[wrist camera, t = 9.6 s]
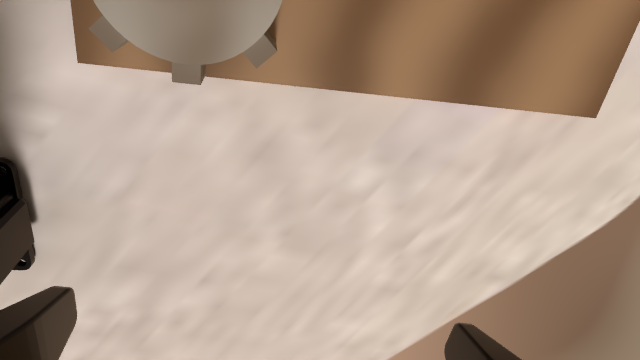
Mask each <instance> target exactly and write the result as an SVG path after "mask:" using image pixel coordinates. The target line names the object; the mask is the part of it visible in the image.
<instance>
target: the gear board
mask: <svg viewBox="0 0 640 360" xmlns="http://www.w3.org/2000/svg"><path fill="white" fill-rule="evenodd" d="M71 8H72V17H73V26H74V34H75V43H76V51H77V60H78V63H85V64H94V65H104V66H113V67H123V68H132V69H141V70H151V71H160V72H169V73H172V82H178V83H187V84H197V85H201V83H202V81H203V79H204V77H205V76H207V77H216V78H225V79H235V80H244V81H253V82H263V83H272V84H281V85H291V86H300V87H310V88H319V89H328V90H338V91H347V92H356V93H366V94H375V95H384V96H394V97H403V98H412V99H422V100H431V101H440V102H450V103H459V104H468V105H478V106H487V107H497V108H506V109H515V110H525V111H534V112H543V113H553V114H562V115H571V116H581V117H590V118H596V117H597V114H598V112H599V110H600V108H601V105H602V103H603V101H604V99H605V97H606V94H607V92H608V90H609V88H610V85H611V83H612V81H613V79H614V77H615V74H616V72H617V70H618V68H619V65H620V63H621V61H622V59H623V57H624V54H625V52H626V50H627V48H628V45H629V43H630V41H631V39H632V37H633V34H634V32H635V30H636V28H637V25H638V23H639V21H640V0H71Z"/></svg>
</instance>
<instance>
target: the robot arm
mask: <svg viewBox="0 0 640 360" xmlns="http://www.w3.org/2000/svg"><path fill="white" fill-rule="evenodd" d="M0 166H1V167H3V168H5V169H6V171H7V172H4V171H2V170H1V169H0V284H1V283H2V282H3V280H4V279H5V278H6V277H7V276H8V274H9V273H10V272H11V271H12V270H27V269H29V268H30V267H31V266H32V264H33V263H34V262H35V257H34V252H33V247H32V245H33V243H34V237H33V232H32V227H31V222H30V217H29V212H28V207H27V203H26V202H25V201H24V200H23V197H22V193H21V188H20V183H19V178H18V173H17V168H16V166H15V164H14V163H13V162H12V161H10V160H9V159H5V158H0ZM20 259H23V260H24V261H26V262H23V261H21V260H20ZM76 320H77V309H76V302H75V294H74V290H73V289H72V288H70V287H60V286H53V287H50V288H48V289H46V290H43V291H41V292H39V293H37V294H35V295H33V296H30V297H28V298H26V299H24V300H22V301H19V302H17V303H15V304H13V305H11V306H9V307H6V308H4V309H2V310H0V360H58V359H59V357H60V355H61V353H62V351H63V349H64V347H65V345H66V343H67V341H68V339H69V337H70V335H71V333H72V331H73V329H74V326H75V324H76ZM445 358H446V360H522V359H520V358H519V357H517V356H516V355H515V354H513V353H512V352H510V351H509V350H508V349H506V348H505V347H503V346H502V345H501V344H499V343H498V342H496V341H495V340H494V339H492V338H491V337H489V336H488V335H486V334H485V333H484V332H482V331H481V330H480V329H478V328H477V327H475V326H474V325H472V324H467V323H456V324H455V325H454V327H453V329H452V331H451V333H450V335H449V338H448V340H447V342H446V345H445Z"/></svg>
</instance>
